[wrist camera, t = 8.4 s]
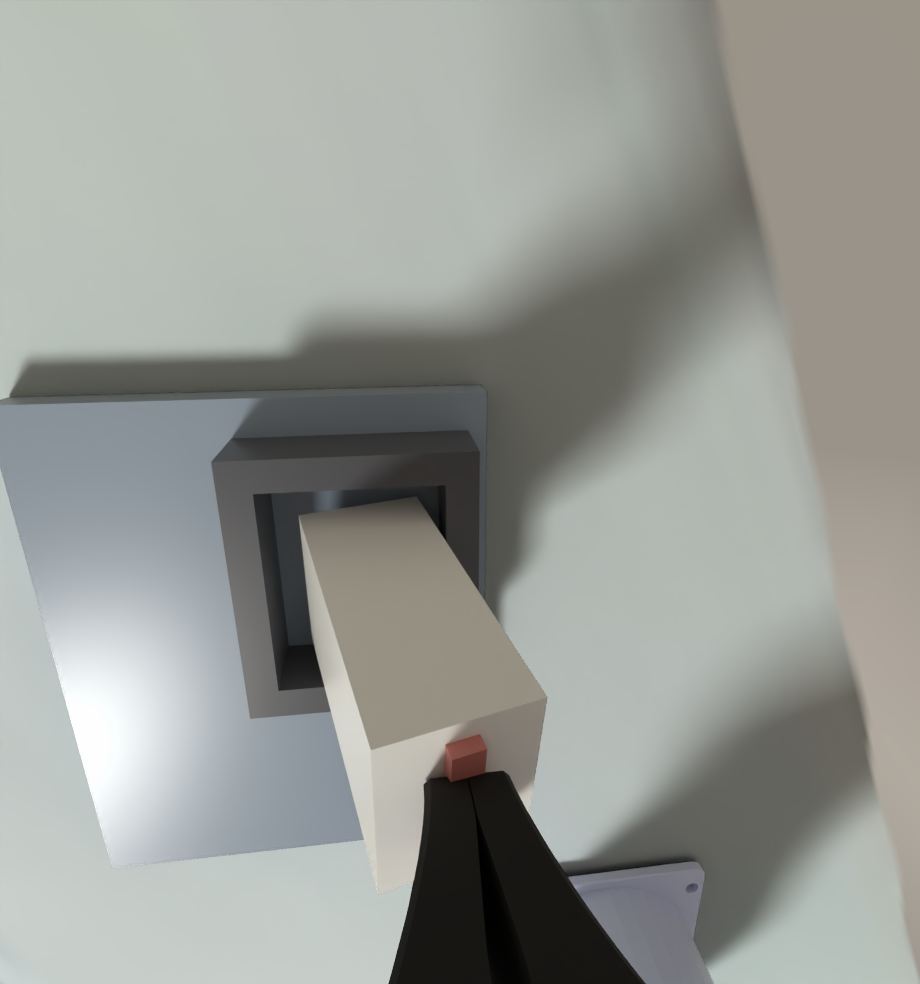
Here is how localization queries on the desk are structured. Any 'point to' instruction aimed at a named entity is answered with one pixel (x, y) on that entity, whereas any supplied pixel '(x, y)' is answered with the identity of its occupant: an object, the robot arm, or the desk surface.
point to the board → (190, 605)
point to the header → (322, 467)
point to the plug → (411, 672)
